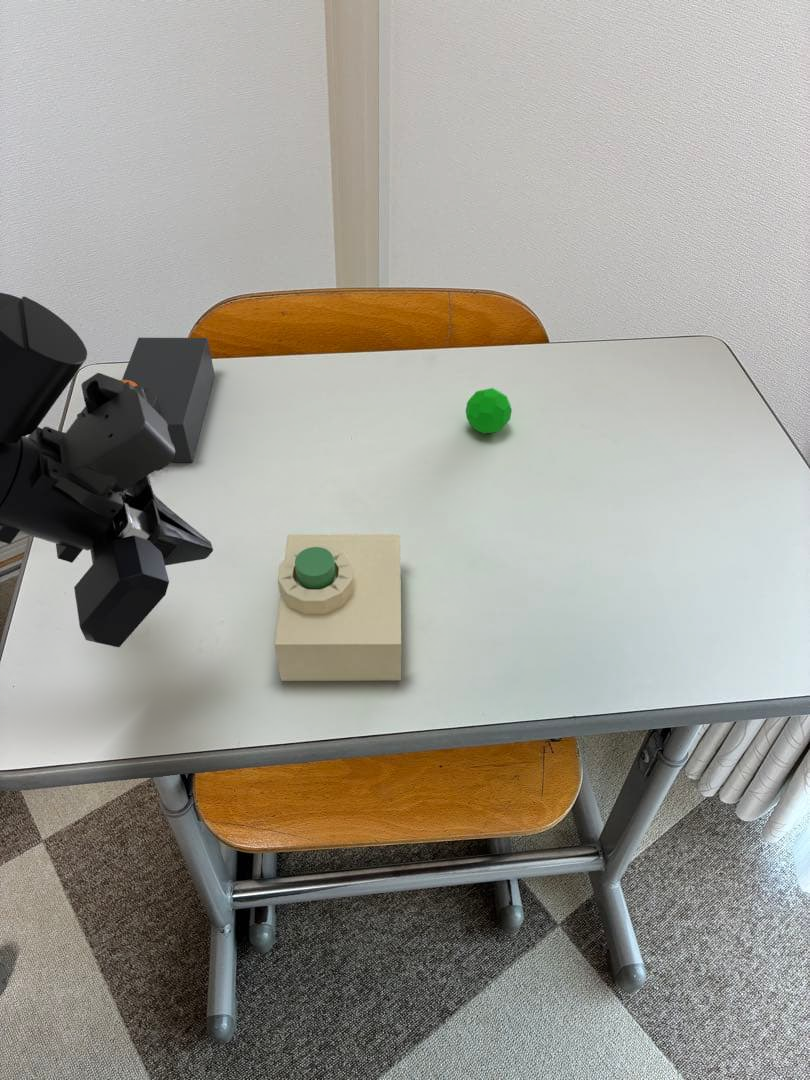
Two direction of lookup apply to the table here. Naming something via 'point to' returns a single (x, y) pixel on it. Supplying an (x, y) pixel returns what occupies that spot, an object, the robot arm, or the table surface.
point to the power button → (315, 568)
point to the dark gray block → (175, 385)
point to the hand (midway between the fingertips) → (209, 551)
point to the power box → (342, 612)
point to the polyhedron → (488, 410)
